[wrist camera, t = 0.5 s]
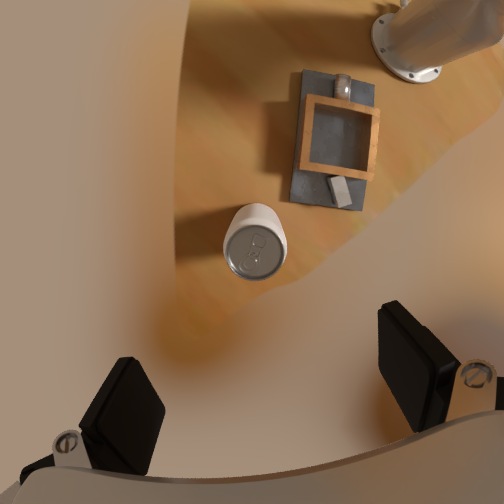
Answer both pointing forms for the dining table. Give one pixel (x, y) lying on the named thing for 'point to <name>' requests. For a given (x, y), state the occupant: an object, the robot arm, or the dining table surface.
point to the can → (255, 243)
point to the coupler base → (334, 141)
